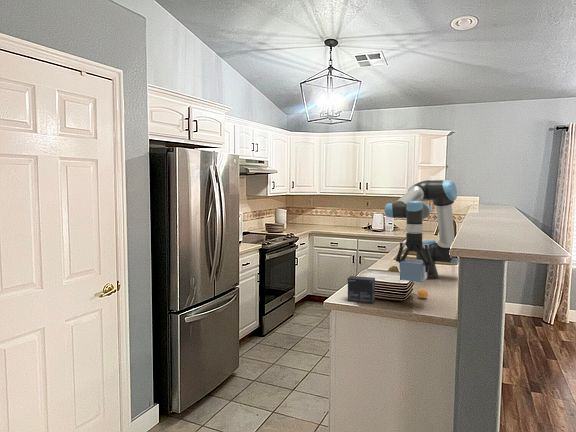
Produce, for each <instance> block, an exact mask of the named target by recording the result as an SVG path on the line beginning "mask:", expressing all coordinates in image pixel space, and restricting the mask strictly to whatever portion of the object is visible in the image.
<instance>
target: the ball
mask: <svg viewBox="0 0 576 432" xmlns="http://www.w3.org/2000/svg"><path fill="white" fill-rule="evenodd" d="M417 295H418V297H419V298H420V299H426V298H427V297H428V296H429V293H428V290H427V289H426V288H420V289H419V290H418V291H417Z"/></svg>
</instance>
